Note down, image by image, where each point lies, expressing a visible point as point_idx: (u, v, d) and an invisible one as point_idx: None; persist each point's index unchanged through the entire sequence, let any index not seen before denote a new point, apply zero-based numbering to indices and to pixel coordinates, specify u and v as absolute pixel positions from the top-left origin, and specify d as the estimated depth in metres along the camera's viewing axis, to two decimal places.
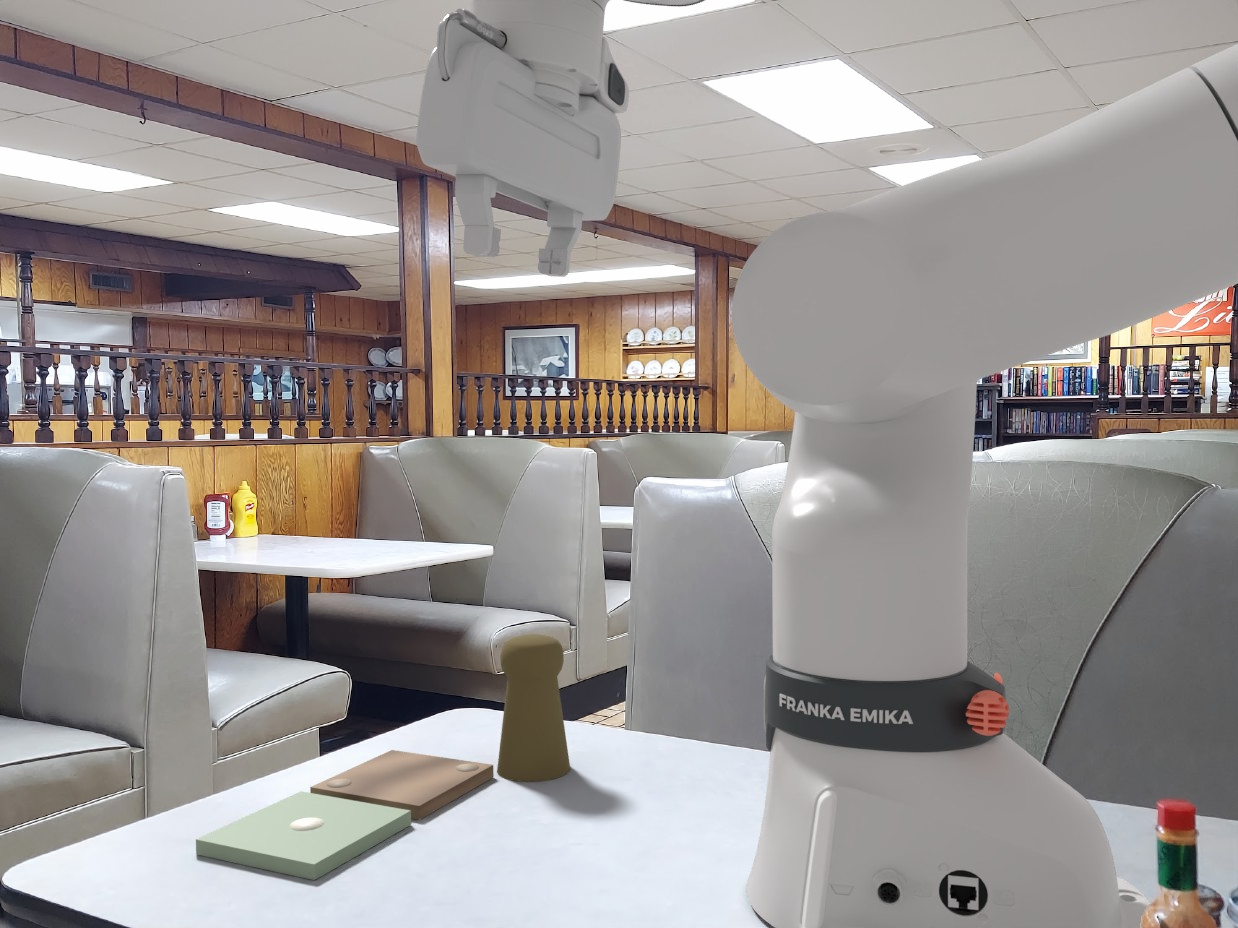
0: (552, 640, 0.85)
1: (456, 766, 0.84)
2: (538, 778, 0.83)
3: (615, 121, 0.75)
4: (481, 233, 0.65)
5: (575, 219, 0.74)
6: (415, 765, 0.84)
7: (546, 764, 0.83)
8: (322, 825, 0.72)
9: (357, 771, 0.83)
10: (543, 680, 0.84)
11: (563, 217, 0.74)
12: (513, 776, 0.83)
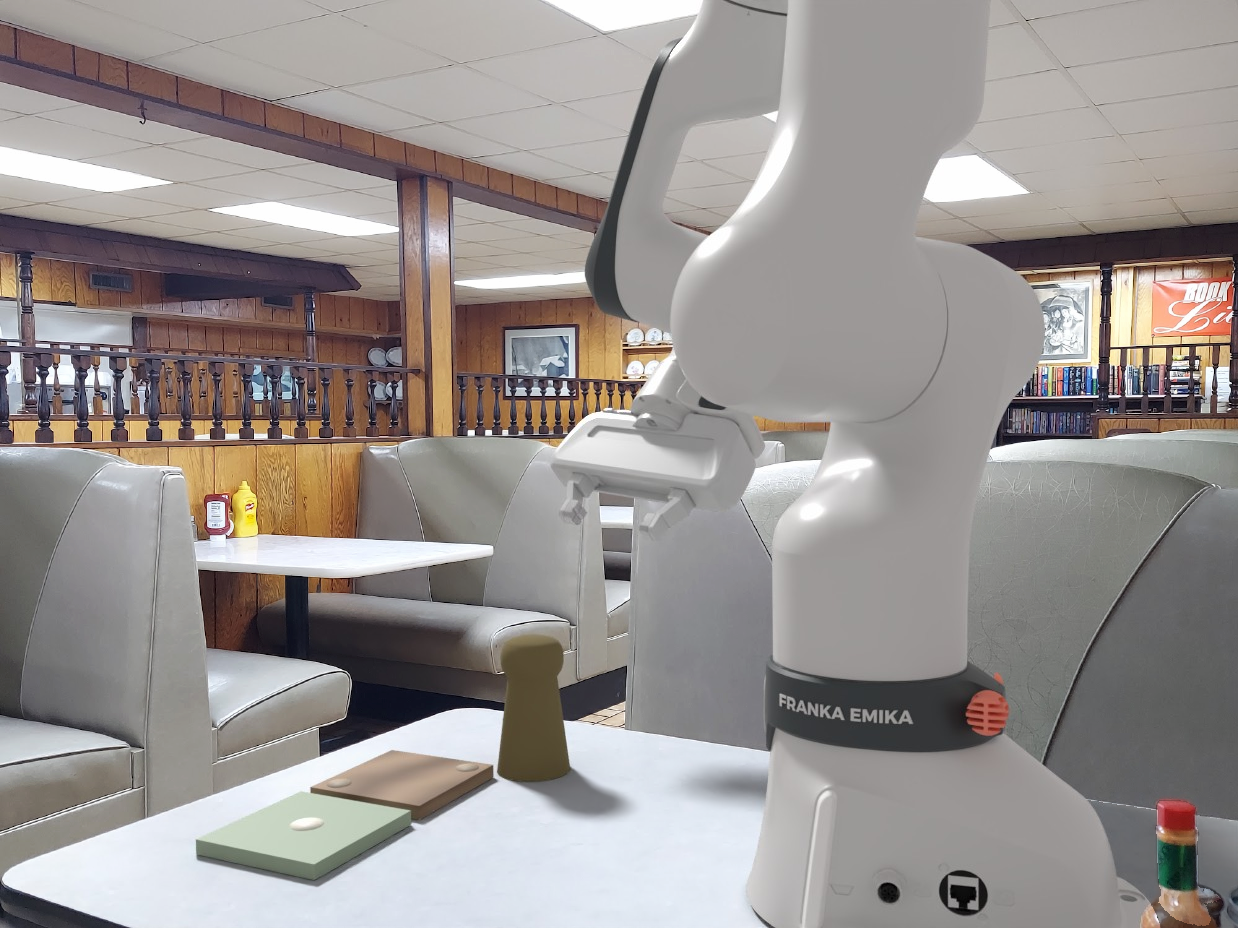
0: (552, 640, 0.85)
1: (456, 766, 0.84)
2: (538, 778, 0.83)
3: (723, 422, 0.92)
4: None
5: (672, 493, 0.90)
6: (415, 765, 0.84)
7: (546, 764, 0.83)
8: (322, 825, 0.72)
9: (357, 771, 0.83)
10: (543, 680, 0.84)
11: None
12: (513, 776, 0.83)
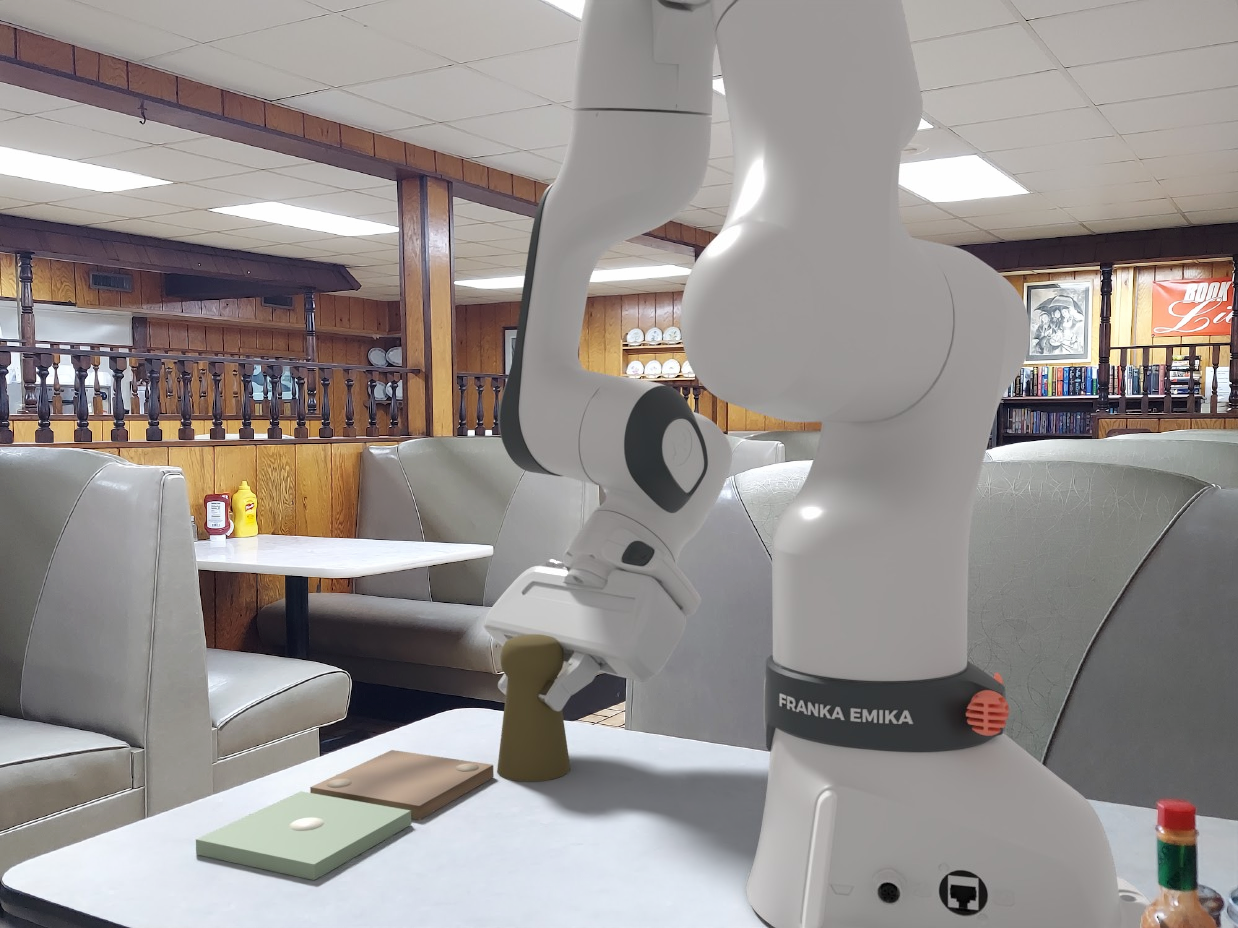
0: (552, 640, 0.85)
1: (456, 766, 0.84)
2: (538, 778, 0.83)
3: (644, 579, 0.84)
4: None
5: (573, 657, 0.84)
6: (415, 765, 0.84)
7: (546, 764, 0.83)
8: (322, 825, 0.72)
9: (357, 771, 0.83)
10: (543, 680, 0.84)
11: None
12: (513, 776, 0.83)
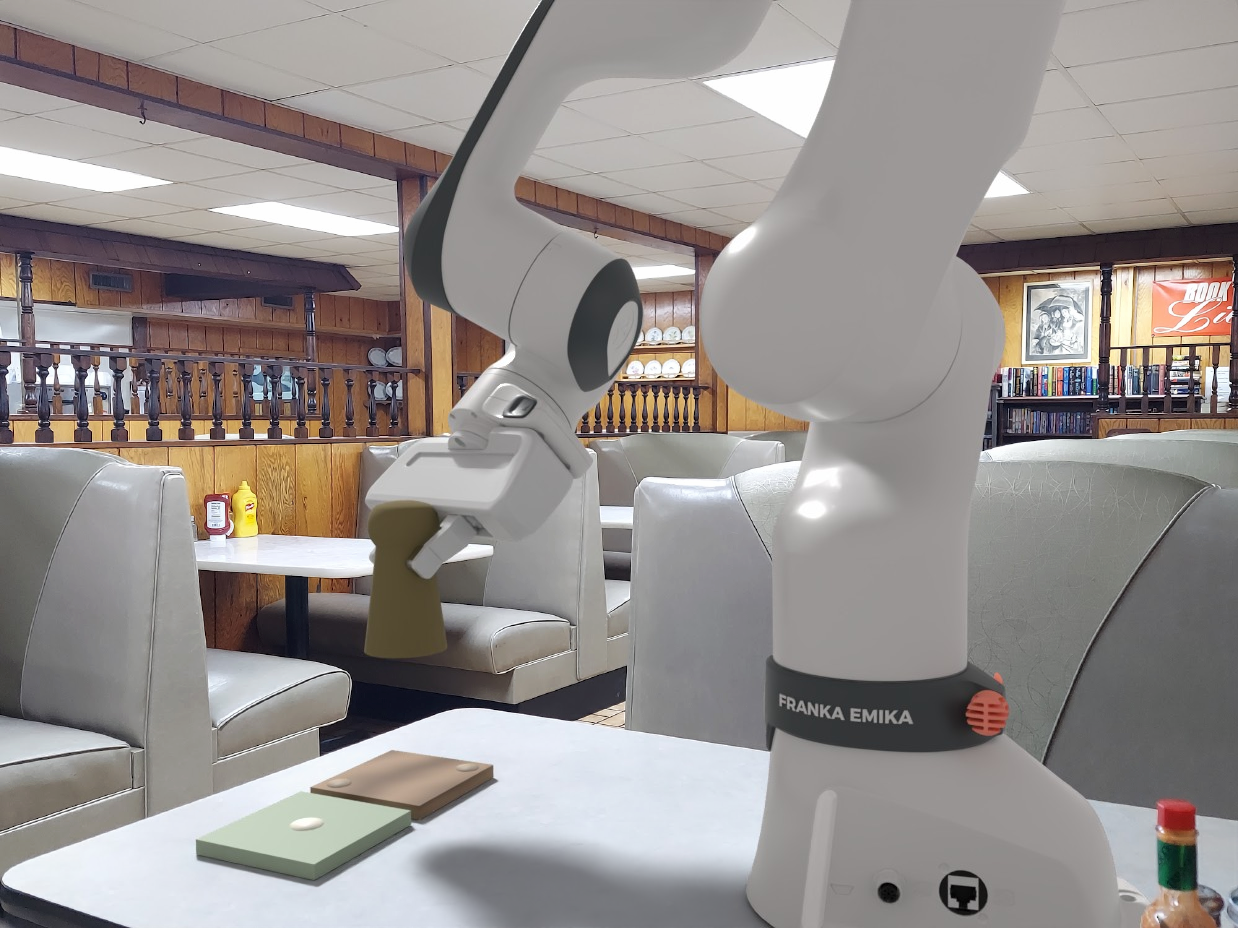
0: (425, 504, 0.77)
1: (456, 766, 0.84)
2: (405, 654, 0.74)
3: (523, 432, 0.75)
4: None
5: (445, 520, 0.75)
6: (415, 765, 0.84)
7: (415, 640, 0.75)
8: (322, 825, 0.72)
9: (357, 771, 0.83)
10: (412, 547, 0.75)
11: None
12: (378, 653, 0.75)
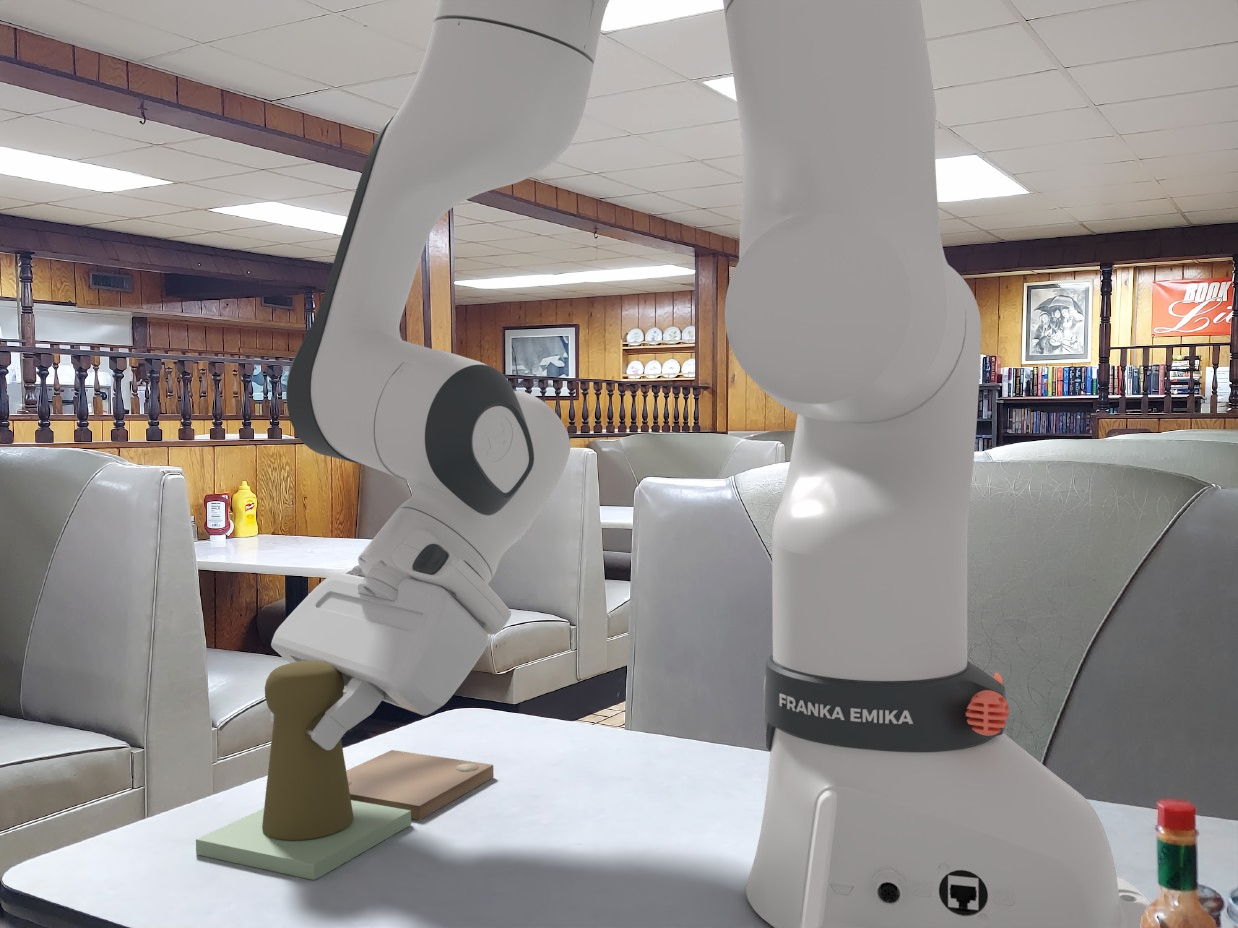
0: (327, 668, 0.71)
1: (456, 766, 0.84)
2: (305, 835, 0.69)
3: (432, 591, 0.69)
4: None
5: (349, 684, 0.70)
6: (415, 765, 0.84)
7: (316, 819, 0.69)
8: None
9: (357, 771, 0.83)
10: (313, 717, 0.70)
11: None
12: (276, 833, 0.69)
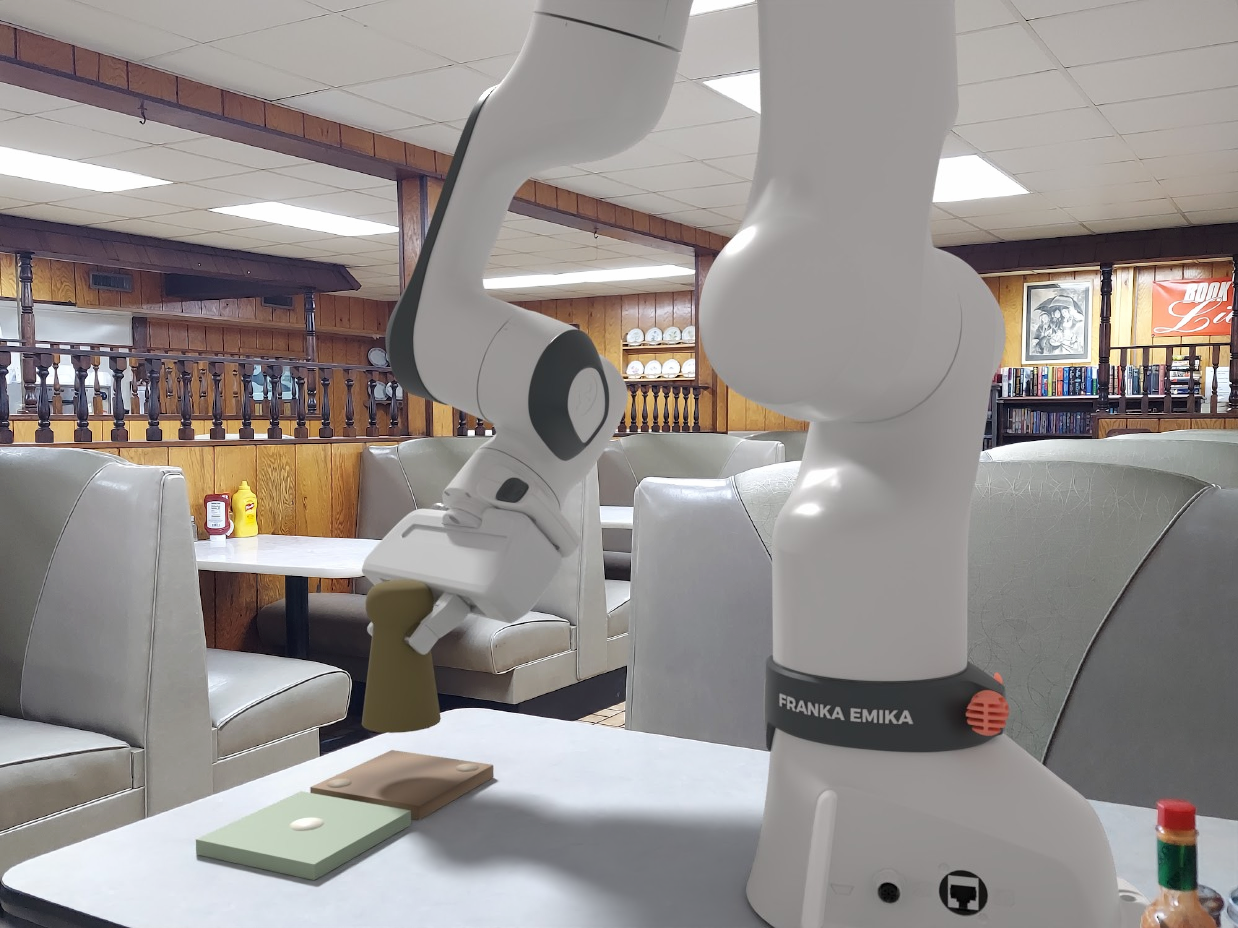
0: (420, 585, 0.81)
1: (456, 766, 0.84)
2: (402, 729, 0.79)
3: (515, 516, 0.79)
4: None
5: (441, 598, 0.80)
6: (415, 765, 0.84)
7: (411, 715, 0.79)
8: (322, 825, 0.72)
9: (357, 771, 0.83)
10: (409, 626, 0.80)
11: None
12: (376, 727, 0.79)
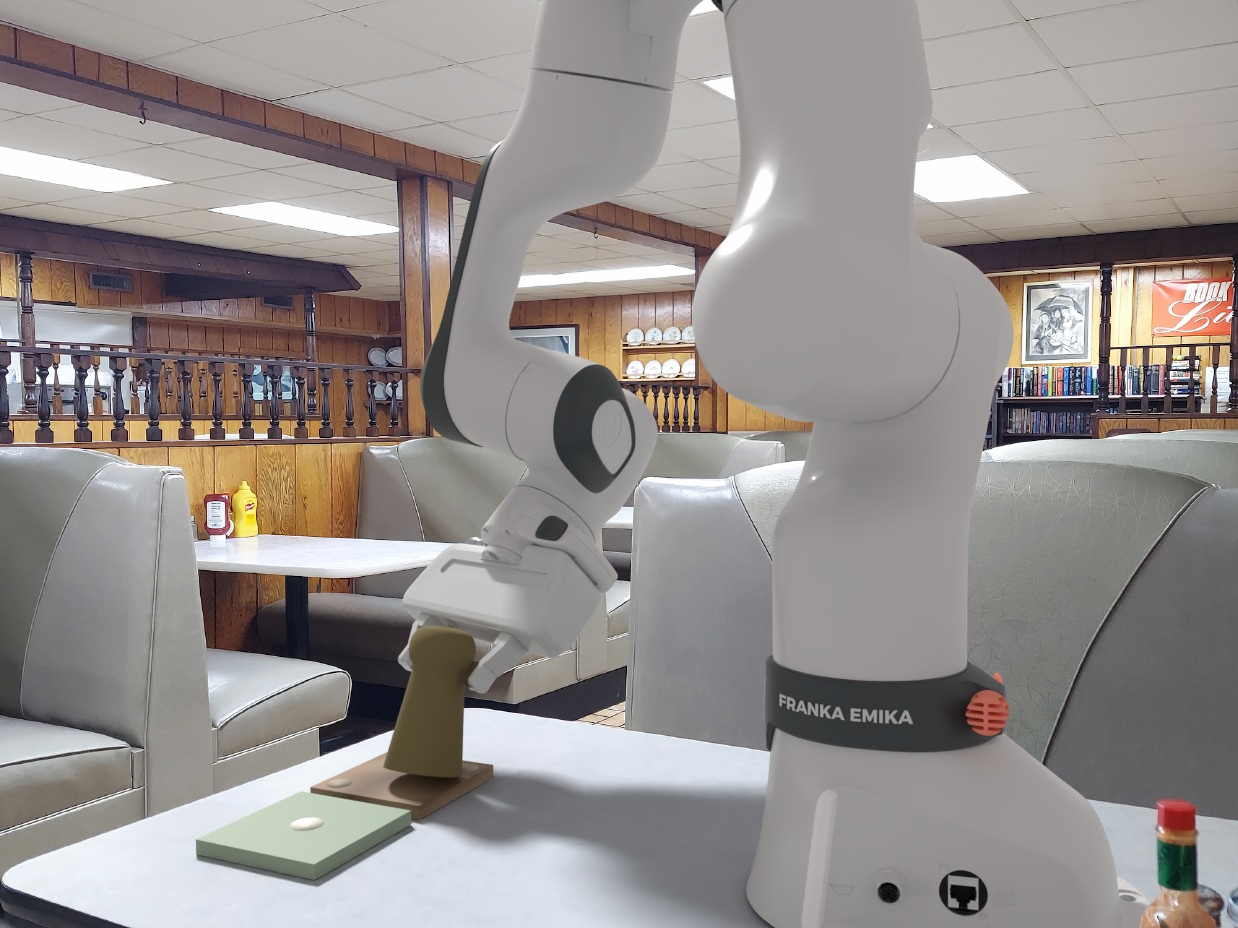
0: (466, 633, 0.82)
1: None
2: (426, 772, 0.77)
3: (556, 554, 0.82)
4: None
5: (499, 637, 0.81)
6: None
7: (437, 759, 0.78)
8: (322, 825, 0.72)
9: (357, 771, 0.83)
10: (449, 670, 0.80)
11: None
12: (399, 767, 0.78)
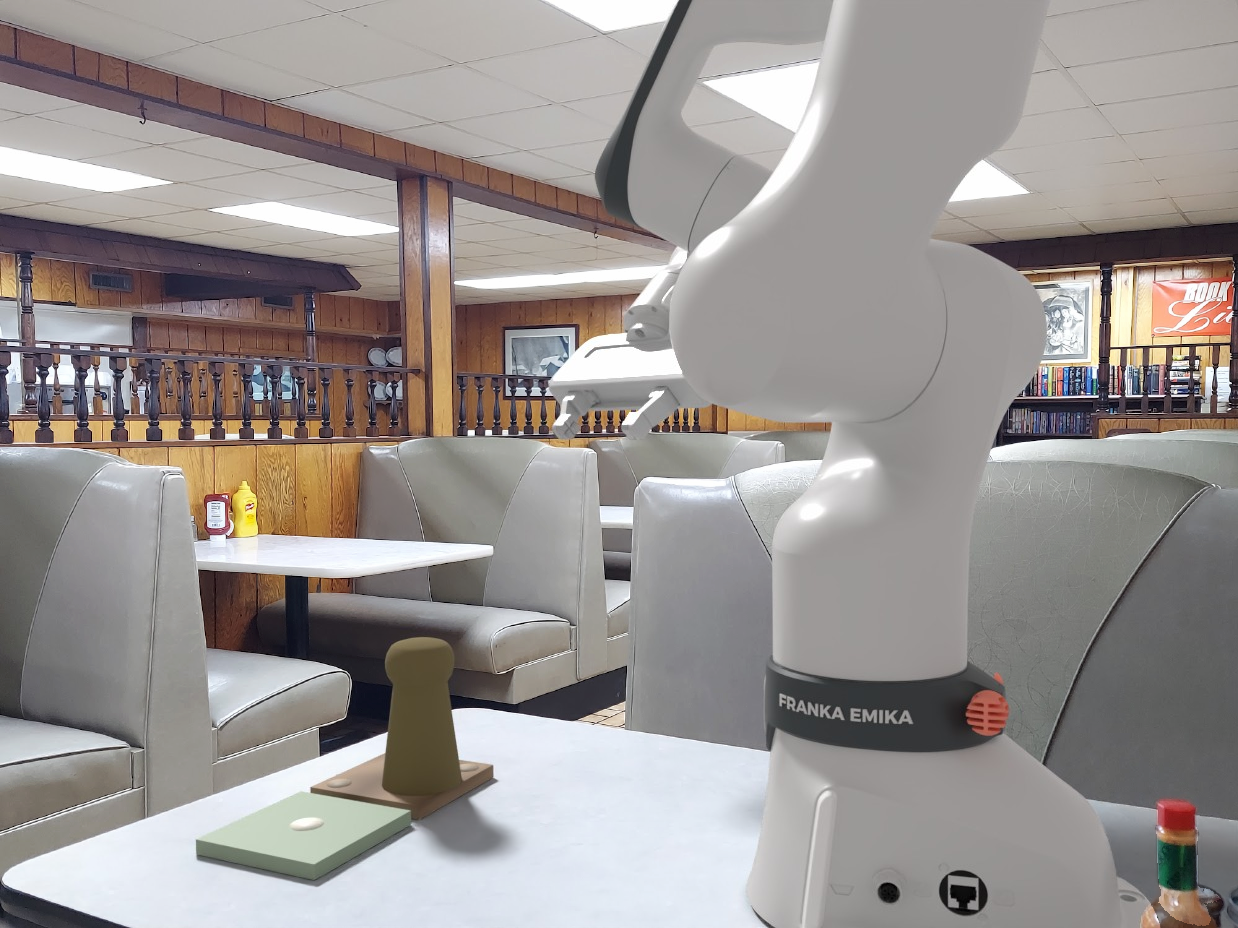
0: (441, 643, 0.79)
1: None
2: (424, 792, 0.77)
3: None
4: None
5: (654, 391, 0.89)
6: None
7: (433, 777, 0.78)
8: (322, 825, 0.72)
9: (357, 771, 0.83)
10: (430, 686, 0.78)
11: None
12: (397, 790, 0.77)
